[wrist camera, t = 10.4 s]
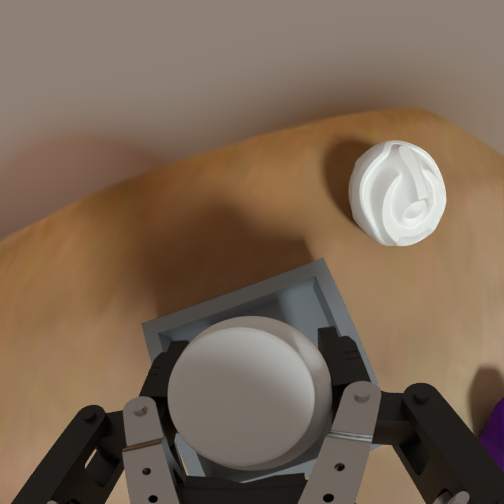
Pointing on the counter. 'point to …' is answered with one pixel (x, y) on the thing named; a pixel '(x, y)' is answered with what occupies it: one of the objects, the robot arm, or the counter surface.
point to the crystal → (495, 435)
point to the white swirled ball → (396, 193)
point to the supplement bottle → (250, 393)
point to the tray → (271, 306)
